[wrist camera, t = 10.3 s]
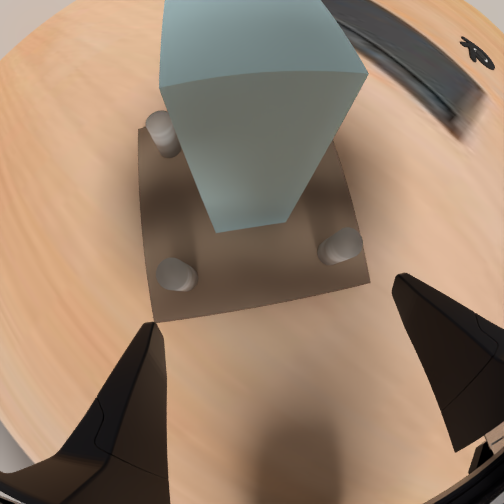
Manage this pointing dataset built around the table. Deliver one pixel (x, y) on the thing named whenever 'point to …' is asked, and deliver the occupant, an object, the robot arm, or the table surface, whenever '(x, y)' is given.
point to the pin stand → (239, 238)
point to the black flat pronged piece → (478, 54)
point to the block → (255, 99)
